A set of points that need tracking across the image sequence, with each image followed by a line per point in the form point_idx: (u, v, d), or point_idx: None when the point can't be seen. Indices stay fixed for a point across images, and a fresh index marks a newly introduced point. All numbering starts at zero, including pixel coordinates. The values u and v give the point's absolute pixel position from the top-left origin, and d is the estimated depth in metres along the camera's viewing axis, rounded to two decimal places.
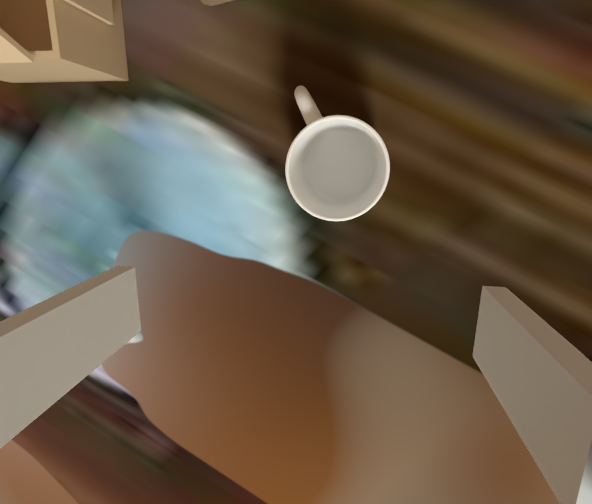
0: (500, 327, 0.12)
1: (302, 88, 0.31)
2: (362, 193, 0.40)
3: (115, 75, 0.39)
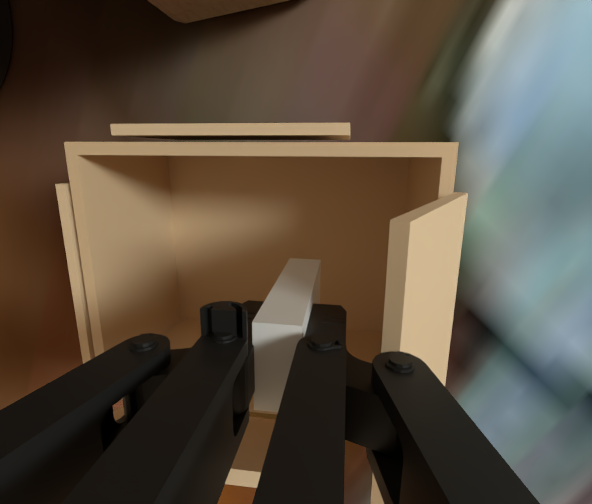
0: None
1: None
2: None
3: None
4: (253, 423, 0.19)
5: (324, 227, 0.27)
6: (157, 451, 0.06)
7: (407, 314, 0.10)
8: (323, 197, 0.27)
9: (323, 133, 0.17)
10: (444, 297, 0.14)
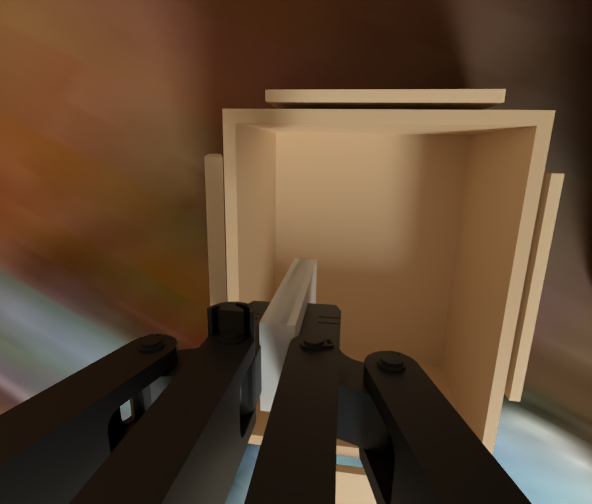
0: None
1: None
2: None
3: None
4: None
5: (378, 294, 0.28)
6: (164, 452, 0.06)
7: None
8: (408, 294, 0.28)
9: (514, 380, 0.19)
10: None
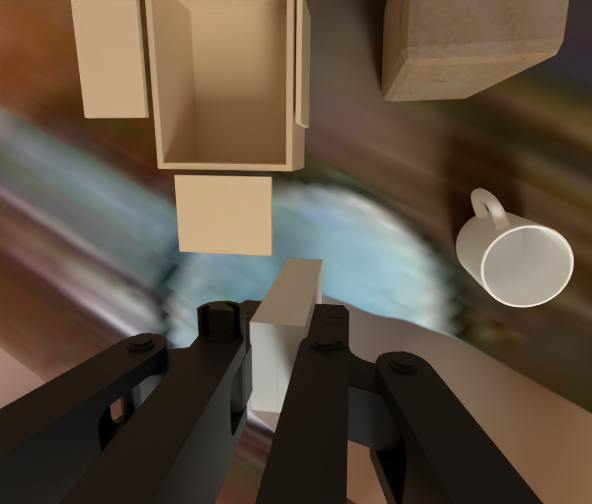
0: None
1: (493, 196, 0.38)
2: (509, 267, 0.46)
3: (301, 167, 0.45)
4: (131, 77, 0.37)
5: (258, 115, 0.46)
6: (155, 450, 0.06)
7: None
8: (275, 114, 0.46)
9: (296, 110, 0.36)
10: None
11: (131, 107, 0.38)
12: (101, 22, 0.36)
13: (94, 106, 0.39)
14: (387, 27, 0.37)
